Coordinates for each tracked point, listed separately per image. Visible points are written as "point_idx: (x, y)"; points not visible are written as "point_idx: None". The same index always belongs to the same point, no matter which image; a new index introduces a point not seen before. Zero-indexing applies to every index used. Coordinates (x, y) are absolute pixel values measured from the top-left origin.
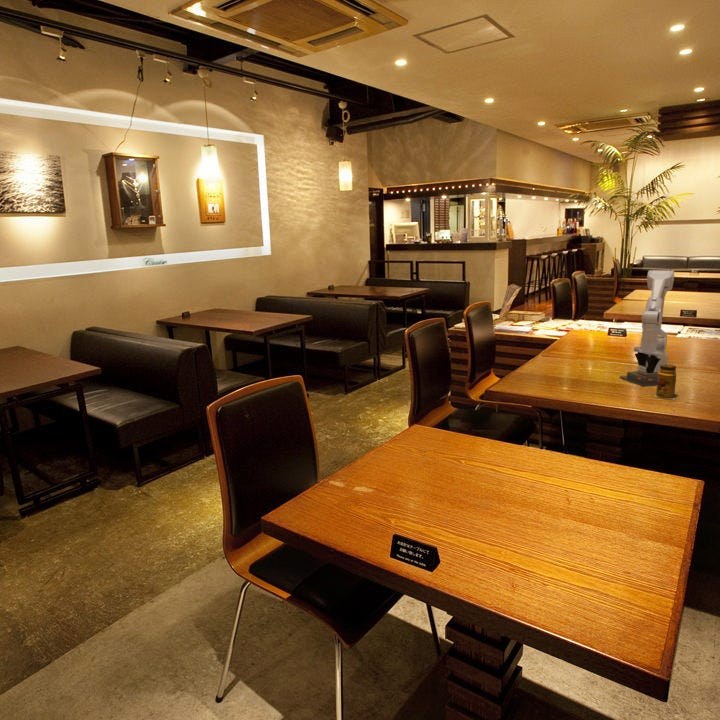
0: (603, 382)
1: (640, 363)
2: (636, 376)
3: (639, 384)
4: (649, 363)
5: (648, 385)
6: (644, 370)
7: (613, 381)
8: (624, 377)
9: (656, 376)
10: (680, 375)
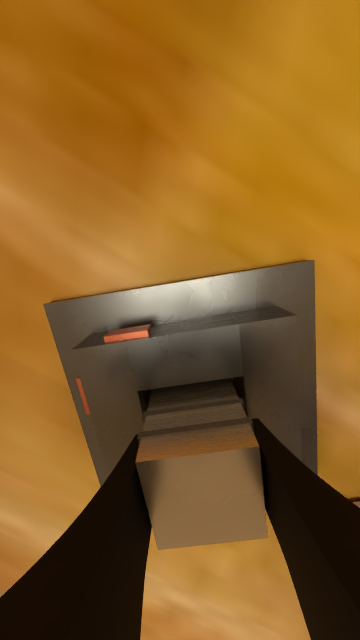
0: (223, 29)
1: (275, 481)
2: (171, 331)
3: (85, 297)
4: (64, 544)
5: (60, 345)
6: (163, 426)
7: (232, 155)
8: (270, 280)
9: (113, 458)
10: (251, 595)
